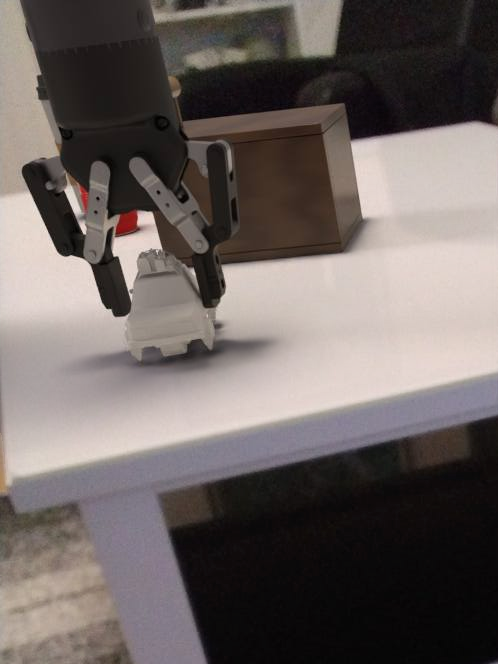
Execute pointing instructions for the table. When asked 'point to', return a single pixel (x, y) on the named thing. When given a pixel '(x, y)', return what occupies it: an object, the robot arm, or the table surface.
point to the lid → (258, 122)
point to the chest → (281, 198)
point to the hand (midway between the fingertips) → (167, 308)
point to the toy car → (166, 307)
